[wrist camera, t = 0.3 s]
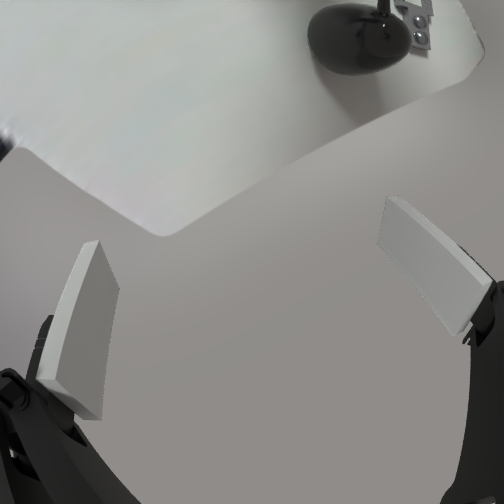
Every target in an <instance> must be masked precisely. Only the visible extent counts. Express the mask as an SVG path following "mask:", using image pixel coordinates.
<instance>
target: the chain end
mask: <svg viewBox="0 0 504 504" xmlns="http://www.w3.org/2000/svg"><path fill="white" fill-rule="evenodd" d="M421 2H422V7H420V6H417V5H414V4H412V3H409V2H406V1H403V0H395V1H394V6H397V7H400V8H402V12H403V20H404V23H405V24H406V25H407V27H408V28H409V30H410V33H411V36H412V47H416V48H420V49H424V50H431V48H430V35H429V24H428V16H433V9H432V2H431V0H421Z"/></svg>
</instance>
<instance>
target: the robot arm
mask: <svg viewBox="0 0 504 504" xmlns="http://www.w3.org/2000/svg"><path fill="white" fill-rule="evenodd" d="M377 244H378V245H379V246H380V248H381V249H382V250H383V251H384V252H385V253H386V254H387V255H388V256H389V258H390V259H391V260H392V261H393V262H394V263H395V264H396V266H397V267H398V268H399V269H400V270H401V271H402V273H403V274H404V275H405V276H406V277H407V279H408V280H409V281H410V282H411V283H412V285H413V286H414V287H415V288H416V290H417V291H418V292H419V293H420V295H421V296H422V297H423V298H424V299H425V301H426V302H427V303H428V305H429V306H430V307H431V309H432V310H433V311H434V312H435V314H436V315H437V316H438V318H439V319H440V320H441V322H442V323H443V324H444V326H445V327H446V329H447V330H448V331H449V333H450V334H451V336H455V335H456V334H458V333H460V332H462V331H464V329H465V328H466V326H467V324H468V323H469V321H471V322H472V323H473V326H472V327H471V329H470V330H469V332H468V333H467V335H466V336H465V338H464V339H463V342H462V343H463V344H465V342H466V341H467V339H468V338H470V341H469V342H468V345H470V346H471V370H470V391H469V403H468V412H467V420H466V428H465V434H464V440H463V446H462V451H461V456H460V461H459V465H458V469H457V473H456V477H455V480H454V482H453V484H452V486H451V487H450V488H449V489H448V490H447V491H446V492H445V494H444V496H443V498H442V500H441V502H440V504H492V503H495V504H504V281H499V282H498V283H497V282H496V281H495V280H494V279H493V278H492V277H491V276H490V275H489V274H488V273H487V272H486V271H485V270H484V269H483V268H482V267H481V266H480V265H479V264H478V263H477V262H475V260H474V259H473V258H472V257H471V256H469V254H468V253H467V252H466V251H465V250H464V249H463V248H462V247H460V246H458V245H457V244H455V243H454V242H453V241H452V240H451V239H450V238H449V237H448V236H447V235H446V234H444V233H443V232H442V231H441V230H440V229H439V228H438V227H436V226H435V225H434V224H433V223H432V222H430V221H429V220H428V219H427V218H426V217H424V216H423V215H422V214H421V213H420V212H418V211H417V210H416V209H415V208H413V207H412V206H411V205H410V204H408V203H407V202H406V201H405V200H403V199H402V198H401V197H399V196H387V197H386V201H385V207H384V213H383V218H382V223H381V228H380V233H379V237H378V242H377ZM119 289H120V288H119V286H118V284H117V282H116V279H115V277H114V275H113V272H112V270H111V268H110V265H109V263H108V260H107V258H106V256H105V253H104V251H103V248H102V246H101V243H100V240H97V241H92V242H88V243H84V245H83V247H82V249H81V251H80V253H79V256H78V258H77V260H76V262H75V264H74V267H73V269H72V271H71V274H70V276H69V278H68V281H67V283H66V286H65V288H64V291H63V294H62V296H61V298H60V301H59V304H58V306H57V309H56V312H55V315H49V316H48V318H47V319H46V320H45V322H44V323H43V325H42V326H41V329H40V331H39V334H38V340H37V341H36V344H35V349H34V350H33V353H32V357H31V360H30V364H29V368H28V371H27V375H26V379H25V380H24V379H23V378H22V377H21V376H20V375H19V374H18V373H17V372H16V371H15V370H13V369H11V368H7V369H4V370H2V371H0V504H141V503H140V502H139V501H138V500H137V499H136V498H135V497H134V496H133V495H132V494H131V493H130V492H129V490H128V489H127V488H126V487H125V486H124V485H123V484H122V483H121V481H120V480H119V479H118V478H117V477H116V476H115V475H114V473H113V472H112V471H111V470H110V468H109V467H108V466H107V465H106V463H105V462H104V461H103V460H102V458H101V457H100V456H99V454H98V453H97V452H96V450H95V449H94V448H93V446H92V445H91V444H90V442H89V441H88V439H87V438H86V436H85V435H84V433H83V432H82V430H81V429H80V428H79V426H78V425H77V424H76V423H75V422H74V413H75V414H77V415H78V416H79V417H80V418H82V419H83V420H102V406H103V394H104V383H105V374H106V365H107V357H108V350H109V343H110V337H111V331H112V325H113V319H114V314H115V309H116V303H117V299H118V294H119ZM9 449H10V450H12V451H13V454H14V458H13V457H11V455H10V450H9Z"/></svg>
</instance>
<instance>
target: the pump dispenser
mask: <svg viewBox="0 0 504 504" xmlns="http://www.w3.org/2000/svg"><path fill="white" fill-rule="evenodd" d="M307 38H308V44H309V47H310V49H311V51H312V53H313V55H314V56H315V57H316V58H317V60H318V61H319V62H320V63H321V64H322V65H323V66H325V67H326V68H327V69H329V70H331V71H333V72H335V73H338V74H341V75H348V76H358V75H366V74H372V73H376V72H379V71H382V70H385V69H387V68H389V67H391V66H393V65H395V64H397V63H398V62H400V61H401V60H402V59H403V58H405V57H406V55H407V54H408V53H409V51H410V49H411V46H412V36H411V33H410V30H409V28H408V27H407V25H406V24H405V23H404V22H403V21H402V20H401V19H399V18H398V17H397V16H395V15H394V14H392V13H391V10H390V0H378V4H377V7H374V6H370V5H365V4H357V3H345V4H336V5H332V6H328V7H326V8H323V9H321V10H320V11H318V12H317V13H316V14H315V15H314V16H313V18H312V19H311V21H310V23H309V27H308V34H307Z"/></svg>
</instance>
